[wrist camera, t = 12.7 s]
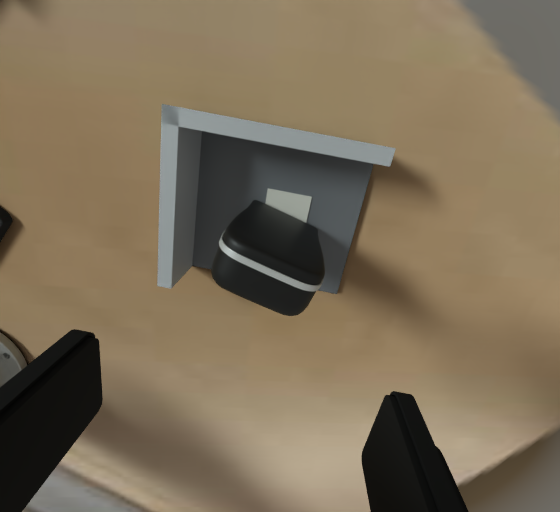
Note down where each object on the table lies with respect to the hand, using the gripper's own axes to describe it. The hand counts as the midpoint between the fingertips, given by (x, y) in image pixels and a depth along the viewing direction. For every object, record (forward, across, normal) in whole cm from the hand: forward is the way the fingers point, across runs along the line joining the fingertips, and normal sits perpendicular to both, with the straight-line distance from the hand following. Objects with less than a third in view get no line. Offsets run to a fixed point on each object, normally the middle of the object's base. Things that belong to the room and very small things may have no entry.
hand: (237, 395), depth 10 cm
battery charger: (+20, 0, 0) cm, 20 cm away
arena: (+20, +1, -2) cm, 20 cm away
